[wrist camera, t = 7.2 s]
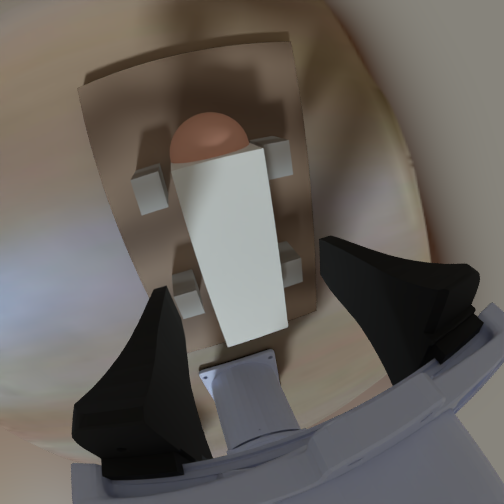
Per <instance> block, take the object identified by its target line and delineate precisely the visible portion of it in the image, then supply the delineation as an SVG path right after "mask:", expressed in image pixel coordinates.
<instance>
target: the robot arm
mask: <svg viewBox="0 0 504 504" xmlns="http://www.w3.org/2000/svg"><path fill="white" fill-rule="evenodd" d="M319 246H320V274H321V276H322V278H323V279H324V281H325V283H326V284H327V286H328V287H329V289H330V290H331V291H332V293H333V294H334V295H335V296H336V297H337V299H338V300H339V301H340V302H341V303H342V305H343V306H344V307H345V308H346V309H347V310H348V312H349V313H350V314H351V315H352V316H353V318H354V319H355V320H356V321H357V323H358V324H359V325H360V326H361V328H362V330H363V331H364V333H365V334H366V336H367V337H368V339H369V341H370V342H371V344H372V346H373V347H374V349H375V351H376V353H377V354H378V356H379V358H380V360H381V362H382V364H383V366H384V368H385V370H386V372H387V374H388V376H389V378H390V380H391V383H392V385H393V386H392V387H391V388H389V389H387V390H386V391H384V392H382V393H381V394H379V395H377V396H375V397H374V398H372V399H370V400H368V401H366V402H364V403H363V404H360V405H359V406H357V407H355V408H353V409H351V410H349V411H347V412H345V413H343V414H341V415H338V416H336V417H334V418H332V419H330V420H328V421H325V422H323V423H321V424H319V425H316V426H314V427H311V428H309V429H306V428H304V429H301V428H300V426H299V424H298V422H297V420H296V418H295V416H294V414H293V411H292V409H291V407H290V405H289V403H288V401H287V399H286V396H285V394H284V392H283V390H282V388H281V385H280V381H279V376H278V370H277V364H276V359H275V353H274V351H273V350H272V349H268V350H265V351H262V352H259V353H256V354H253V355H250V356H247V357H244V358H241V359H238V360H235V361H231V362H228V363H225V364H221V365H218V366H214V367H211V368H207V369H204V370H201V371H200V372H199V376H200V378H201V380H202V381H203V383H204V385H205V386H206V388H207V390H208V391H209V393H210V394H211V396H212V398H213V399H214V401H215V404H216V408H217V412H218V416H219V419H220V423H221V427H222V430H223V434H224V437H225V441H226V444H227V447H228V451H227V455H226V456H222V457H218V458H213V457H212V454H211V452H210V449H209V446H208V444H207V441H206V438H205V435H204V432H203V429H202V425H201V422H200V419H199V415H198V412H197V408H196V405H195V401H194V397H193V393H192V389H191V383H190V377H189V368H188V358H187V348H186V338H185V333H184V328H183V324H182V319H181V317H180V315H179V312H178V310H177V308H176V306H175V304H174V301H173V299H172V297H171V294H170V292H169V290H168V288H167V285H166V286H163V287H160V288H156V289H154V290H153V292H152V294H151V296H150V298H149V301H148V303H147V305H146V307H145V310H144V312H143V314H142V316H141V318H140V320H139V323H138V325H137V327H136V328H135V330H134V332H133V334H132V336H131V338H130V340H129V341H128V343H127V345H126V346H125V348H124V349H123V351H122V352H121V354H120V355H119V357H118V358H117V359H116V361H115V362H114V363H113V365H112V366H111V367H110V369H109V370H108V371H107V372H106V374H105V375H104V376H103V377H102V378H101V379H100V380H99V381H98V383H97V384H96V385H95V386H94V387H93V388H92V389H91V390H90V391H89V392H88V393H87V394H85V395H84V396H83V397H82V398H81V399H80V400H79V401H78V402H77V403H75V404H74V411H73V422H72V438H73V439H74V440H75V442H76V443H77V444H79V445H80V446H81V447H83V448H84V449H86V450H88V451H89V452H91V453H93V454H94V455H96V456H98V457H100V458H101V462H102V466H101V465H97V464H83V463H72V464H71V483H72V500H73V504H504V484H503V482H502V480H501V479H500V477H499V476H498V474H497V473H496V471H495V470H494V468H493V467H492V465H491V464H490V462H489V461H488V459H487V458H486V456H485V455H484V453H483V452H482V451H481V449H480V448H479V446H478V445H477V444H476V442H475V441H474V439H473V438H472V437H471V435H470V434H469V432H468V431H467V430H466V428H465V427H464V426H463V425H462V423H461V422H460V420H459V419H458V418H457V416H456V415H455V413H457V411H459V410H460V409H461V408H462V407H463V406H464V405H465V404H466V403H467V402H468V401H469V400H470V399H471V398H472V397H473V396H474V395H475V394H476V393H477V392H478V391H479V390H480V389H481V388H482V387H483V385H484V384H485V383H486V382H487V381H488V380H489V379H490V377H492V376H493V374H494V373H495V372H496V371H497V370H498V369H499V367H500V366H501V365H502V364H503V362H504V312H503V311H502V310H501V309H500V308H499V307H497V306H496V305H495V304H494V303H493V302H492V303H490V304H489V305H488V306H487V307H486V308H485V309H484V310H483V311H482V312H481V313H480V314H479V316H478V317H477V316H476V315H475V314H474V312H475V308H474V307H473V306H472V305H471V304H472V301H473V299H474V297H475V294H476V292H477V289H478V286H479V282H480V276H479V273H478V271H476V270H475V269H474V268H472V267H471V266H470V265H468V264H438V263H427V262H420V261H413V260H408V259H403V258H399V257H394V256H391V255H387V254H384V253H380V252H377V251H374V250H371V249H368V248H365V247H363V246H360V245H357V244H354V243H351V242H349V241H346V240H343V239H340V238H337V237H334V236H328V237H325V238H321V239H319Z"/></svg>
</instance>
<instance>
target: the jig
mask: <svg viewBox="0 0 504 504" xmlns="http://www.w3.org/2000/svg"><path fill="white" fill-rule="evenodd" d="M78 93H79V98H80V103H81V108H82V112H83V117H84V121H85V125H86V129H87V133H88V137H89V141H90V144H91V148H92V151H93V155H94V158H95V162H96V165H97V168H98V172H99V175H100V178H101V181H102V184H103V187H104V190H105V193H106V196H107V199H108V201H109V204H110V207H111V210H112V213H113V215H114V218H115V221H116V223H117V226H118V228H119V231H120V233H121V236H122V238H123V241H124V243H125V246H126V248H127V250H128V253H129V255H130V257H131V260H132V262H133V264H134V266H135V269H136V271H137V273H138V275H139V277H140V280H141V282H142V284H143V286H144V288H145V290H146V292H147V294H148V296H149V298H150V296H151V294H152V292H153V290H154V289H156V288H160V287H163V286H166V285H167V288H168V290H169V292H170V294H171V297H172V299H173V301H174V304H175V306H176V308H177V310H178V312H179V315H180V317H181V319H182V324H183V328H184V333H185V338H186V348H187V353H189V352H193V351H197V350H200V349H204V348H207V347H211V346H214V345H217V344H221V343H224V342H226V341H225V338H224V335H223V332H222V330H221V327H220V324H219V322H218V319H217V316H216V313H215V310H214V308H213V305H212V302H211V299H210V296H209V293H208V291H207V288H206V285H205V282H204V279H203V276H202V273H201V270H200V267H199V264H198V261H197V258H196V254H195V251H194V248H193V245H192V242H191V239H190V235H189V232H188V229H187V226H186V222H185V219H184V216H183V212H182V209H181V205H180V202H179V199H178V195H177V192H176V188H175V184H174V181H173V177H172V173H171V160H170V144H171V140H172V138H173V135H174V134H175V132H176V130H177V129H178V128H179V126H180V125H181V124H182V123H183V122H185V121H186V120H187V119H189V118H191V117H192V116H195V115H197V114H201V113H206V112H215V113H221V114H224V115H227V116H229V117H231V118H232V119H234V120H235V121H237V122H238V123H239V124H240V125H241V127H242V128H243V129H244V131H245V133H246V135H247V137H248V141H249V143H251V144H254V145H256V146H259V147H261V148H263V149H264V155H265V161H266V168H267V174H268V180H269V187H270V193H271V200H272V207H273V214H274V221H275V228H276V235H277V242H278V249H279V257H280V264H281V272H282V280H283V288H284V296H285V304H286V312H287V321H290V320H293V319H296V318H298V317H301V316H304V315H306V314H309V313H312V312H314V311H316V269H315V245H314V227H313V211H312V198H311V186H310V175H309V164H308V155H307V145H306V137H305V129H304V121H303V113H302V106H301V99H300V92H299V86H298V79H297V73H296V67H295V62H294V56H293V50H292V45H291V42H265V43H251V44H240V45H231V46H224V47H216V48H210V49H204V50H198V51H193V52H188V53H183V54H179V55H174V56H170V57H166V58H162V59H158V60H154V61H151V62H147V63H144V64H141V65H137V66H134V67H131V68H128V69H125V70H122V71H119V72H116V73H113V74H111V75H108V76H105V77H103V78H100V79H98V80H95V81H93V82H90V83H88V84H86V85H83V86H81V87H79V88H78Z"/></svg>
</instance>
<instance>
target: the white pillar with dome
mask: <svg viewBox="0 0 504 504" xmlns="http://www.w3.org/2000/svg"><path fill="white" fill-rule="evenodd" d="M170 160H171V173H172V177H173V181H174V184H175V188H176V192H177V195H178V199H179V202H180V205H181V209H182V212H183V216H184V219H185V222H186V226H187V229H188V232H189V235H190V239H191V242H192V245H193V248H194V251H195V254H196V258H197V261H198V264H199V267H200V270H201V273H202V276H203V279H204V282H205V285H206V288H207V291H208V293H209V296H210V299H211V302H212V305H213V308H214V310H215V313H216V316H217V319H218V322H219V324H220V327H221V330H222V332H223V335H224V338H225V341H226V343H227V346H228V347H231V346H234V345H237V344H240V343H243V342H246V341H249V340H252V339H255V338H258V337H261V336H264V335H267V334H270V333H273V332H276V331H279V330H281V329H284V328H287V327H288V321H287V312H286V304H285V296H284V288H283V280H282V272H281V264H280V257H279V249H278V242H277V235H276V228H275V221H274V214H273V207H272V200H271V193H270V187H269V180H268V174H267V168H266V161H265V155H264V149H263V148H261V147H259V146H256V145H254V144H251V143H249V141H248V137H247V135H246V133H245V131H244V129H243V128H242V127H241V125H240V124H239V123H238V122H237V121H235V120H234V119H232V118H231V117H229V116H227V115H224V114H221V113H215V112H206V113H201V114H197V115H195V116H192V117H191V118H189V119H187V120H186V121H185V122H183V123H182V124H181V125H180V126H179V128H178V129H177V130H176V132H175V134H174V135H173V138H172V140H171V144H170Z"/></svg>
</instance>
